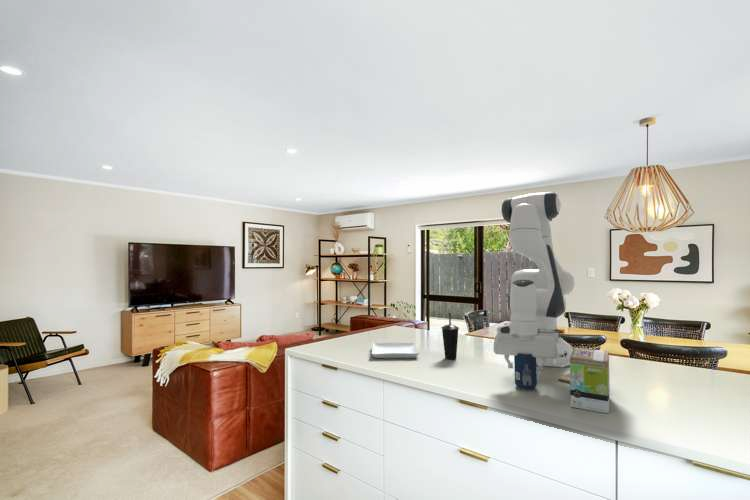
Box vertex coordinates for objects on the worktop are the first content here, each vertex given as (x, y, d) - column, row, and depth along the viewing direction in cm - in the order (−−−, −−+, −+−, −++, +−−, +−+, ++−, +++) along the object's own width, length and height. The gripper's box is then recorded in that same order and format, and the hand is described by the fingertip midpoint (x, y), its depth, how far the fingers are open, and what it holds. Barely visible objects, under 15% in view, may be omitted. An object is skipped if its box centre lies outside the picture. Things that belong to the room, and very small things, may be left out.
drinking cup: (462, 357, 168) (461, 312, 169) (455, 361, 162) (454, 314, 162) (445, 355, 172) (444, 311, 173) (439, 359, 166) (438, 313, 166)
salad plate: (419, 360, 166) (419, 352, 166) (371, 360, 166) (371, 353, 166) (415, 349, 187) (415, 342, 187) (372, 349, 187) (372, 342, 188)
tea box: (610, 414, 105) (608, 360, 105) (569, 407, 110) (568, 356, 110) (610, 397, 117) (608, 349, 118) (574, 392, 123) (572, 346, 123)
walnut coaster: (569, 374, 141) (569, 372, 141) (599, 380, 133) (599, 378, 133) (558, 380, 134) (558, 378, 134) (588, 387, 127) (588, 385, 127)
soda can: (527, 383, 132) (526, 348, 132) (541, 389, 125) (540, 353, 126) (510, 385, 130) (509, 350, 130) (524, 392, 123) (523, 355, 124)
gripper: (557, 328, 127) (559, 369, 126) (494, 325, 135) (495, 364, 135) (558, 331, 121) (559, 375, 121) (492, 328, 129) (493, 368, 129)
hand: (525, 369), depth 128 cm, fingers open, 8 cm apart
